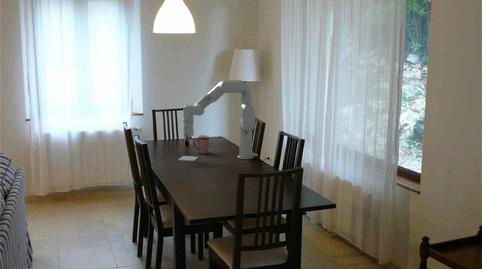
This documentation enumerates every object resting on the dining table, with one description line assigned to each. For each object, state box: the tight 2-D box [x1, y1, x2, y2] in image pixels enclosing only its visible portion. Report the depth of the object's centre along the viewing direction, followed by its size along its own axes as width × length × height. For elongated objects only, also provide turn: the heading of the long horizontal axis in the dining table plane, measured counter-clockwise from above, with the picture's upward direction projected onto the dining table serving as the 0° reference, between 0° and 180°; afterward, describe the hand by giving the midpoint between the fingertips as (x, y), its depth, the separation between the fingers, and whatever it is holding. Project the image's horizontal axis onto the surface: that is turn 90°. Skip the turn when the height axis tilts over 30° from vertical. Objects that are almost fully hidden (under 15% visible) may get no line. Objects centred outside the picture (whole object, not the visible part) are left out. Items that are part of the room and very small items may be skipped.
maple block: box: [183, 138, 193, 148], centre depth 389 cm, size 5×5×5 cm
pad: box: [177, 155, 199, 162], centre depth 391 cm, size 12×12×1 cm
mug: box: [192, 135, 210, 155], centre depth 411 cm, size 13×9×14 cm
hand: (188, 145), depth 389 cm, fingers closed on maple block, 5 cm apart
